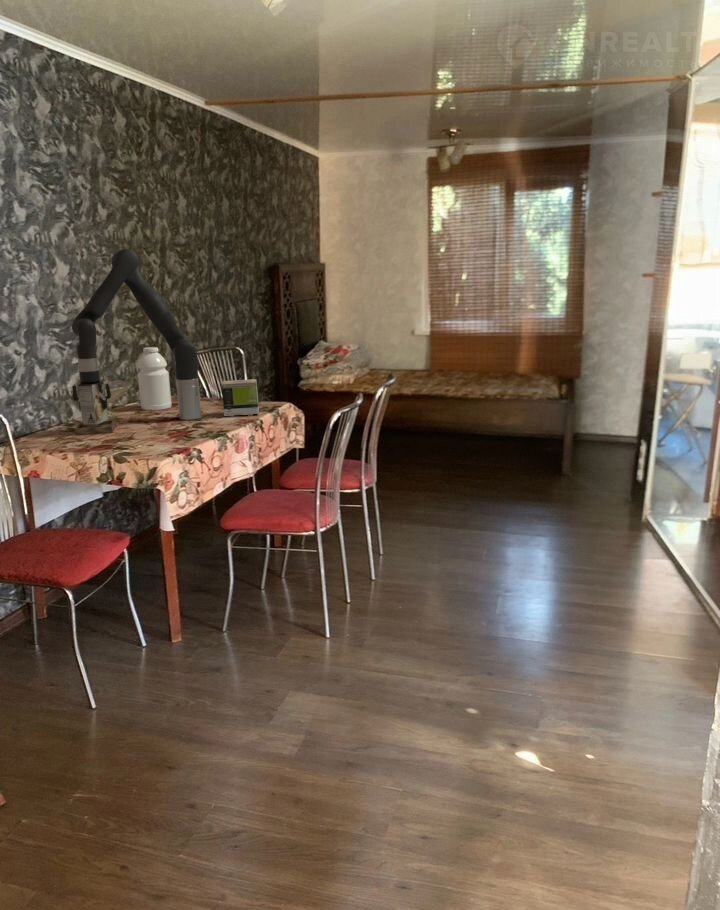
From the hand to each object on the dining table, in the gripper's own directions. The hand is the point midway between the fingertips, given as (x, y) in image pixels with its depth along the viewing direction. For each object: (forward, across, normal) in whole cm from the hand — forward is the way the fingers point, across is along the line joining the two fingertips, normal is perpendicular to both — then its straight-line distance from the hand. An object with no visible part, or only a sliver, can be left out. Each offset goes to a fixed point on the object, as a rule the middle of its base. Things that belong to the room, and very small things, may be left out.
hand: (93, 409), depth 278 cm
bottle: (+9, -21, -43) cm, 48 cm away
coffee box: (+5, 0, 0) cm, 5 cm away
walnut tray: (+8, 0, 0) cm, 8 cm away
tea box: (+9, -59, -14) cm, 61 cm away
